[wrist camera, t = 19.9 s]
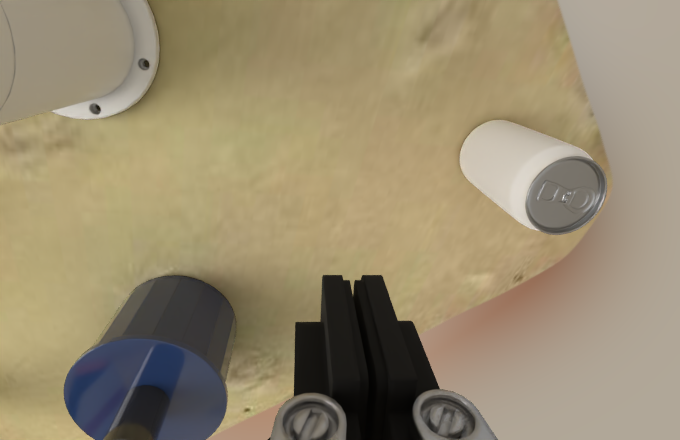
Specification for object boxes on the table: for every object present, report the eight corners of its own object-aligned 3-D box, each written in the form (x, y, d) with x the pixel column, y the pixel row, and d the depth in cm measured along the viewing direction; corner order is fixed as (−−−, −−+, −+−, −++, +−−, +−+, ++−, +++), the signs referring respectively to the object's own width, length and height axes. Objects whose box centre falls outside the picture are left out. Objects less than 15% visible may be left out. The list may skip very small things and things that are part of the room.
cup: (110, 351, 44) (63, 428, 35) (134, 260, 40) (88, 321, 31) (218, 377, 46) (199, 454, 38) (250, 294, 43) (237, 359, 34)
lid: (59, 426, 36) (14, 499, 30) (85, 310, 32) (38, 369, 26) (206, 455, 39) (189, 526, 33) (248, 352, 34) (238, 413, 29)
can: (508, 192, 41) (585, 248, 30) (447, 178, 39) (504, 230, 28) (536, 127, 38) (631, 162, 27) (472, 110, 37) (545, 139, 26)
